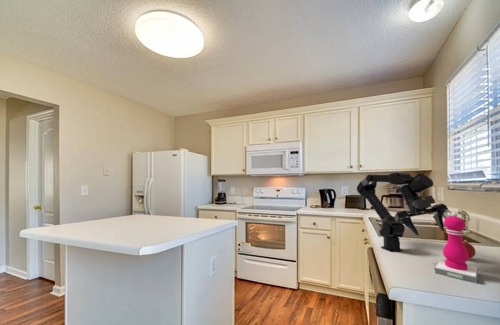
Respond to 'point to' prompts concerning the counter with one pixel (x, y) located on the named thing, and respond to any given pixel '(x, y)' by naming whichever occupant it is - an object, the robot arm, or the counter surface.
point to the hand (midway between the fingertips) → (430, 233)
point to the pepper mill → (455, 243)
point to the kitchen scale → (457, 272)
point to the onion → (469, 249)
